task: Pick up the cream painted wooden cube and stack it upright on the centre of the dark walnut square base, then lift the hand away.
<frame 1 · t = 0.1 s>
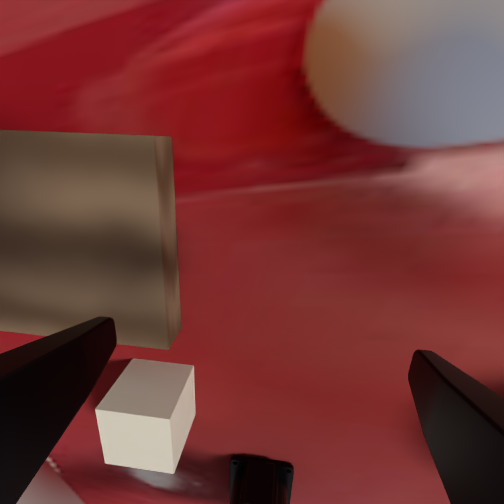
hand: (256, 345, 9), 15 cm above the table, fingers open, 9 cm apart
cream cube: (165, 386, 30), on the table
walnut base: (84, 236, 25), on the table
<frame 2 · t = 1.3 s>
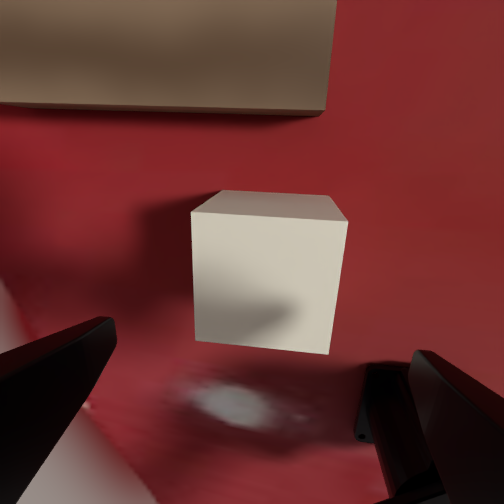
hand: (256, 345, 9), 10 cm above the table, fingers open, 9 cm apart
cream cube: (271, 242, 18), on the table
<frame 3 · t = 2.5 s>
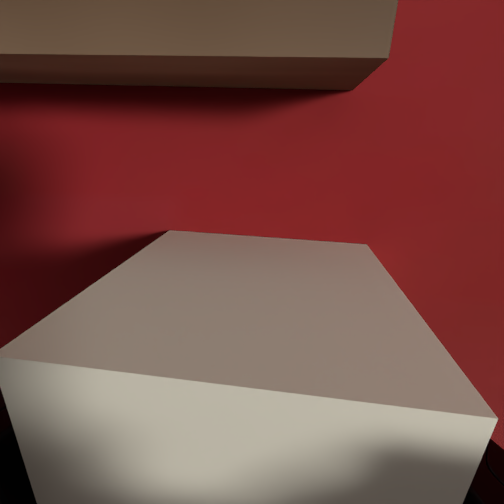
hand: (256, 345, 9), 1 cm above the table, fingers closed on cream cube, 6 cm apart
cream cube: (260, 322, 10), on the table, touching gripper
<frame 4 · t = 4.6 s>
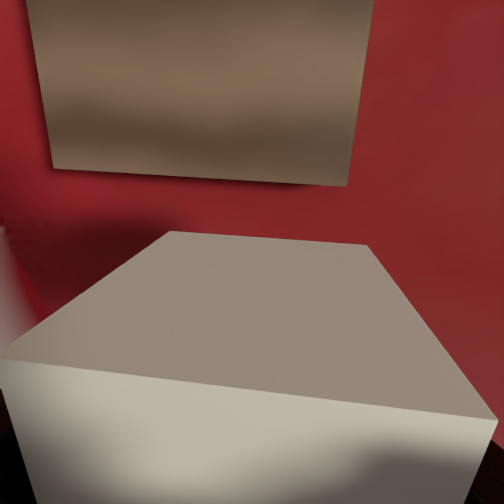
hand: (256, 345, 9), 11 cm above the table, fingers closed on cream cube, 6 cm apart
cream cube: (260, 322, 10), point 10 cm above the table, touching gripper
walnut base: (207, 19, 16), on the table
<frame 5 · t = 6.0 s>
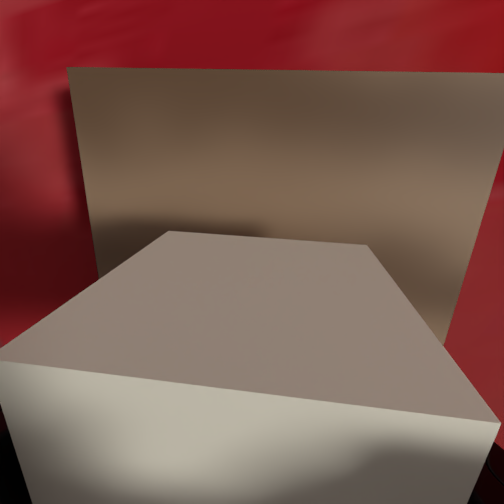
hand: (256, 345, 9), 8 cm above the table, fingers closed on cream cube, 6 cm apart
cream cube: (259, 323, 10), point 6 cm above the table, touching gripper
walnut base: (270, 254, 16), on the table
when the fingers open (5 cm above the table, at t = 6.9 s): cream cube stays where it is, resting on walnut base.
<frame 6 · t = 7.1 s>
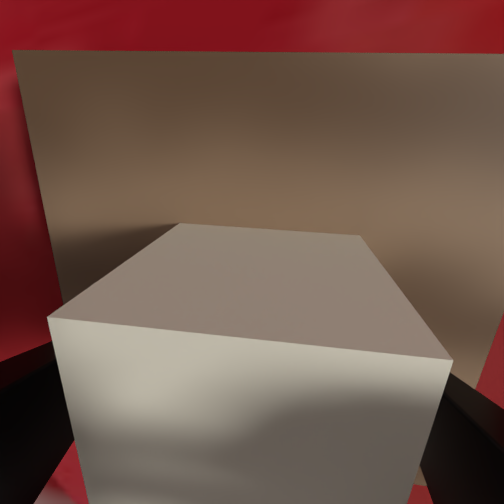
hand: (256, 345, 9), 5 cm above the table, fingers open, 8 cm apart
cream cube: (262, 308, 11), point 3 cm above the table, touching walnut base
walnut base: (268, 273, 14), on the table
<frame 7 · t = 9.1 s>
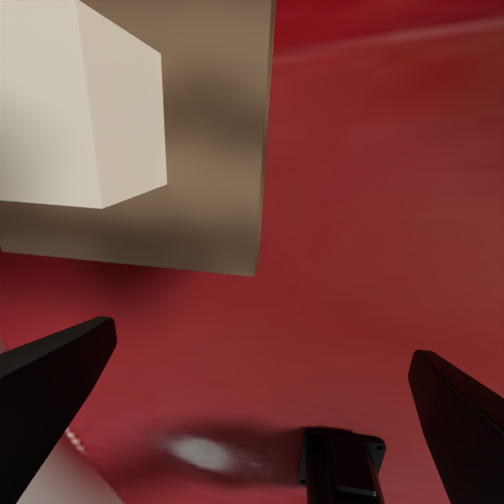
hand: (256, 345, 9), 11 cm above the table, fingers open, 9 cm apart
cream cube: (107, 120, 15), point 3 cm above the table, touching walnut base
walnut base: (135, 122, 18), on the table
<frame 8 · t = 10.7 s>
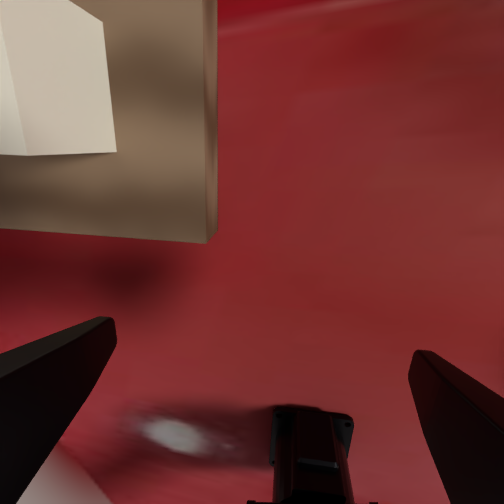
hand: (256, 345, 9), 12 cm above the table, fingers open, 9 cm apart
cream cube: (56, 90, 16), point 3 cm above the table, touching walnut base
walnut base: (91, 97, 19), on the table
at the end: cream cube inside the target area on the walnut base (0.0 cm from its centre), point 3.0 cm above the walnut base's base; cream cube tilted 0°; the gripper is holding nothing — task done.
